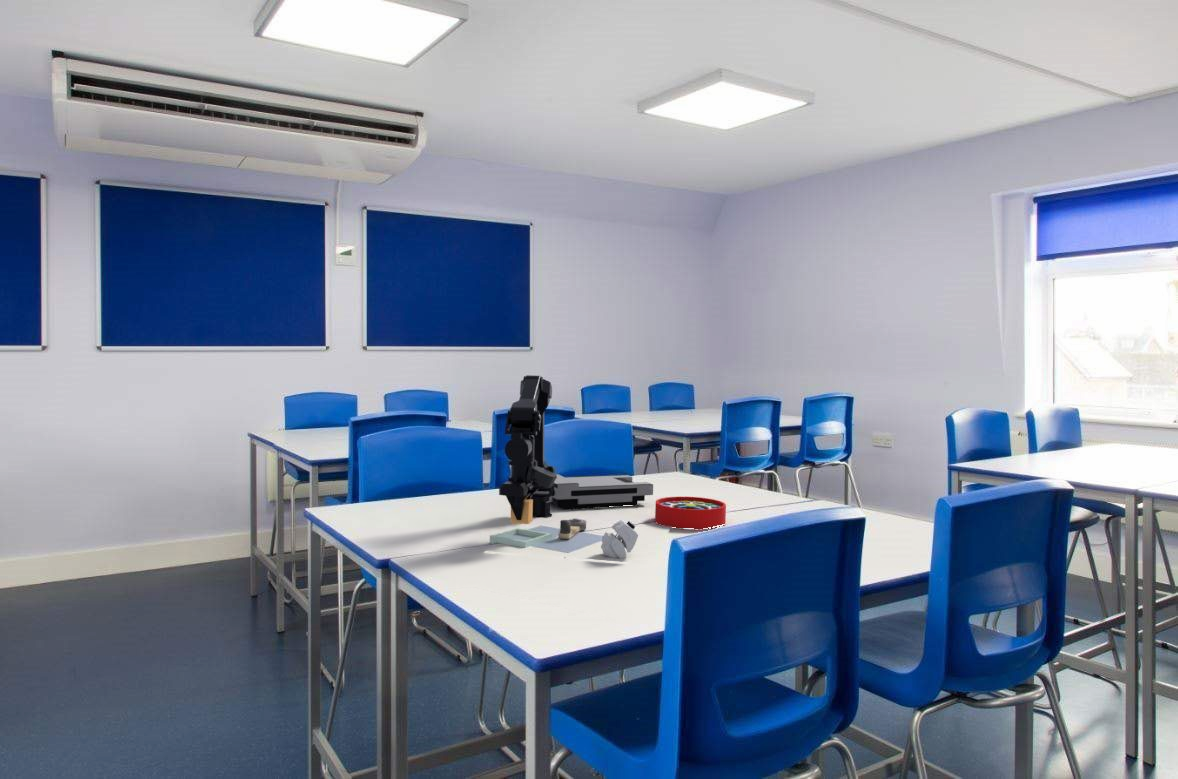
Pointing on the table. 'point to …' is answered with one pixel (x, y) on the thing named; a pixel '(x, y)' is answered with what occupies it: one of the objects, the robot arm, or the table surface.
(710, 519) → the toy clock
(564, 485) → the office tray
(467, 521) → the table surface
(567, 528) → the crank
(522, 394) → the robot arm
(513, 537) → the crank base
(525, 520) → the block
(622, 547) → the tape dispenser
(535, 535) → the tray
